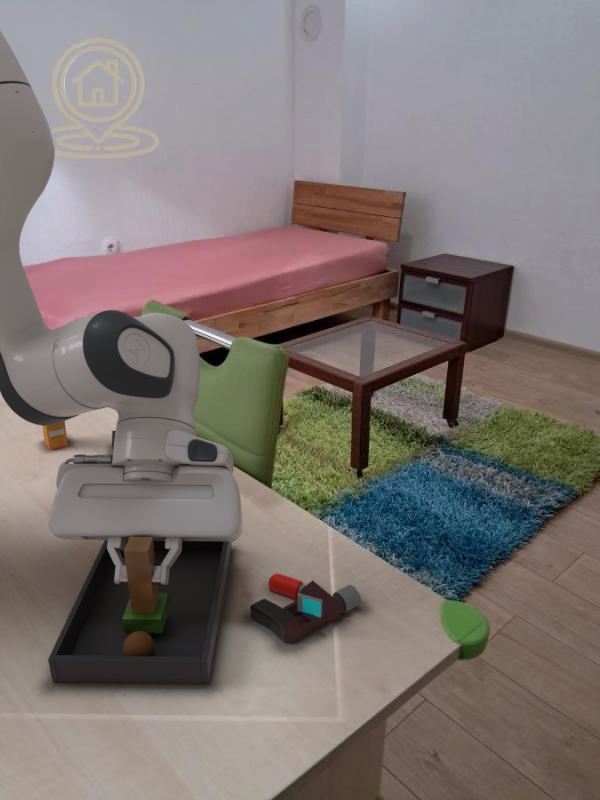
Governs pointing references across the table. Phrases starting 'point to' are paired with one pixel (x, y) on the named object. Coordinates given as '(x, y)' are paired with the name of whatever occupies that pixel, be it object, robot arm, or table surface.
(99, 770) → the table surface
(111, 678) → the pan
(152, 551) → the wooden post on base
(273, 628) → the toy gun
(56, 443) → the supplement box
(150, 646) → the brown wooden ball
